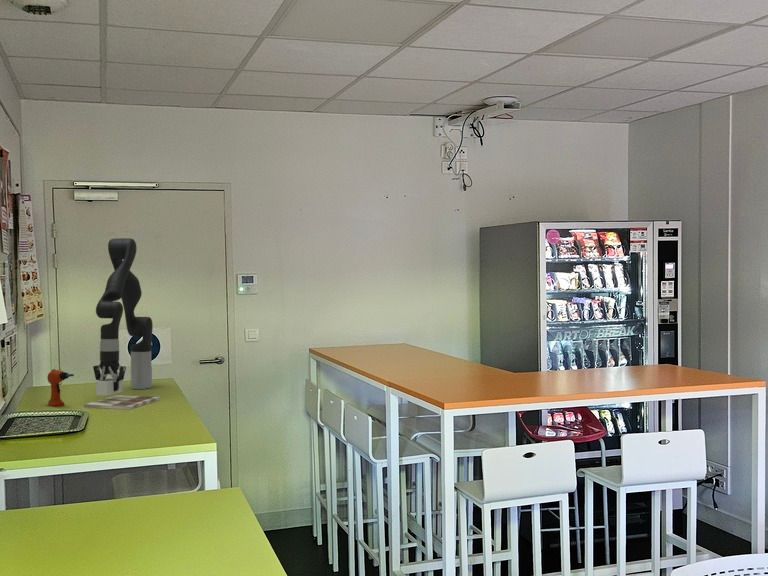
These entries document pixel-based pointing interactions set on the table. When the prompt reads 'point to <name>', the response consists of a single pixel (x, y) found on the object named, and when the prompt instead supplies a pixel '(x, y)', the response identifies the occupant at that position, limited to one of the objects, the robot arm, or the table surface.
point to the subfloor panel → (121, 402)
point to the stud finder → (107, 387)
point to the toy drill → (56, 386)
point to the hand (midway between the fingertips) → (109, 390)
